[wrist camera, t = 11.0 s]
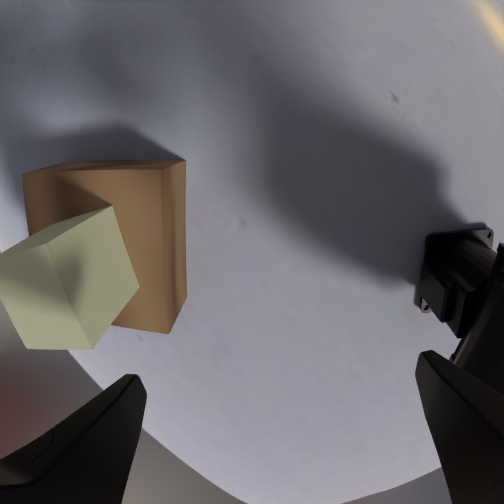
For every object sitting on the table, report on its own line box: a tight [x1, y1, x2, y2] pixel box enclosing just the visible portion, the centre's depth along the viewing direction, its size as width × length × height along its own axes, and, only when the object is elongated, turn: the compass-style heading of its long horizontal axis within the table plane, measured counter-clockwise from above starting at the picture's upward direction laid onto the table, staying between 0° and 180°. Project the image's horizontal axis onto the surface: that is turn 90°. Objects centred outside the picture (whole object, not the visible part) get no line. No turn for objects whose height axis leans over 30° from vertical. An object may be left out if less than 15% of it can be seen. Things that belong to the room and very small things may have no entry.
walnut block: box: [22, 160, 187, 334], centre depth 19 cm, size 10×10×5 cm
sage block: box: [0, 206, 140, 349], centre depth 14 cm, size 5×5×6 cm
